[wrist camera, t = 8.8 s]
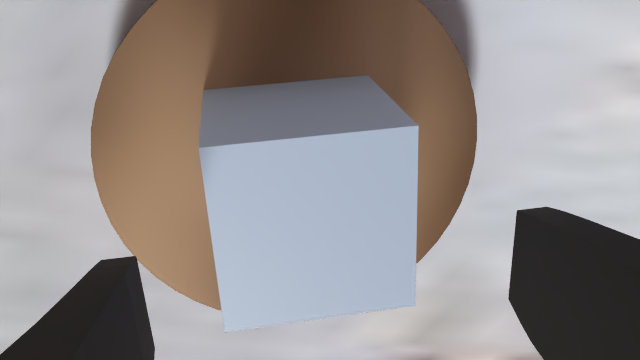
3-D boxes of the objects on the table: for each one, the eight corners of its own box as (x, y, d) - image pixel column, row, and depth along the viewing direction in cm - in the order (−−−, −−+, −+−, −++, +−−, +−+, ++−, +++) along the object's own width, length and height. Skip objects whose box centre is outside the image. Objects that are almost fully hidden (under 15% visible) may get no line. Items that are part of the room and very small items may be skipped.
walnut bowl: (480, -35, 18) (511, -30, 16) (425, 281, 22) (444, 313, 20) (91, -67, 16) (75, -66, 14) (113, 287, 20) (103, 323, 18)
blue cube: (367, 75, 16) (418, 125, 12) (370, 220, 18) (415, 305, 14) (203, 89, 16) (198, 148, 12) (222, 237, 18) (224, 332, 14)
